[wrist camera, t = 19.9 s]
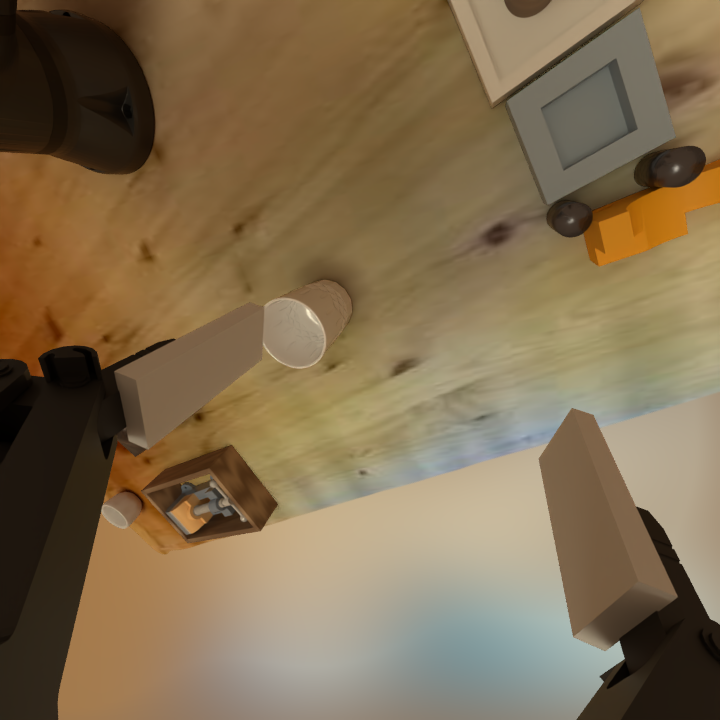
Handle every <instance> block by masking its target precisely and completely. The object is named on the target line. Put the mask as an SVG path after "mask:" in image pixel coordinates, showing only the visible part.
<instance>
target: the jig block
mask: <svg viewBox="0 0 720 720" xmlns="http://www.w3.org/2000/svg"><path fill="white" fill-rule="evenodd" d="M505 107H506V110H507V112H508V115H509V117H510V120H511V122H512V125H513V127H514V130H515V132H516V135H517V137H518V140H519V142H520V145H521V147H522V150H523V152H524V155H525V157H526V160H527V163H528V165H529V168H530V170H531V173H532V175H533V178H534V180H535V183H536V185H537V188H538V190H539V193H540V195H541V198H542V200H543V203H544V204H546V205H549V204H551V203H553V202H554V201H556V200H558V199H560V198H562V197H564V196H566V195H568V194H570V193H571V192H573V191H575V190H577V189H579V188H581V187H583V186H585V185H587V184H588V183H590V182H592V181H594V180H596V179H598V178H600V177H602V176H604V175H605V174H607V173H609V172H611V171H613V170H615V169H617V168H619V167H621V166H622V165H624V164H626V163H628V162H630V161H632V160H634V159H636V158H638V157H639V156H641V155H643V154H645V153H647V152H649V151H651V150H653V149H655V148H656V147H658V146H660V145H662V144H664V143H666V142H668V141H670V140H672V139H673V138H675V137H676V136H675V132H674V129H673V125H672V121H671V118H670V114H669V111H668V107H667V104H666V100H665V96H664V93H663V89H662V86H661V82H660V79H659V75H658V72H657V68H656V64H655V61H654V57H653V54H652V50H651V47H650V43H649V39H648V36H647V32H646V29H645V25H644V22H643V18H642V15H641V11H640V8H638V9H637V10H635V11H634V12H632V13H631V14H630V15H628V16H627V17H625V18H624V19H623V20H621V21H620V22H618V23H617V24H615V25H614V26H613V27H611V28H610V29H608V30H607V31H605V32H604V33H603V34H601V35H600V36H598V37H597V38H596V39H594V40H593V41H591V42H590V43H588V44H587V45H586V46H584V47H583V48H581V49H580V50H578V51H577V52H576V53H574V54H573V55H571V56H570V57H568V58H567V59H566V60H564V61H563V62H561V63H560V64H559V65H557V66H556V67H554V68H553V69H551V70H550V71H549V72H547V73H546V74H544V75H543V76H541V77H540V78H539V79H537V80H536V81H534V82H533V83H532V84H530V85H529V86H527V87H526V88H524V89H523V90H522V91H520V92H519V93H517V94H516V95H514V96H513V97H512V98H510V99H509V100H507V102H506V106H505Z"/></svg>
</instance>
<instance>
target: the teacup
mask: <svg viewBox="0 0 720 720" xmlns="http://www.w3.org/2000/svg"><path fill="white" fill-rule="evenodd" d="M141 509H142V503H141V500H140V499H139V498H138V497H137V496H136V495H135V494H133V493H131V492H122V493H119V494H117V495H115V496H114V497H112V498H111V499H109V500H108V501H107V502H105V503H104V504H103V505H102V510H101V512H102V514H103V515H104V517H105V518H106V519H107V520H108V521H109V522H110V523H111V524H113V525H114V526H116V527H119V528H123V529H124V528H127V527H128V526H130V525H131V524H132V522H133V521H134V520H135V519H136V518H137V517H138V516H139V514H140V512H141Z"/></svg>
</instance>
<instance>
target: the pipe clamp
mask: <svg viewBox="0 0 720 720" xmlns="http://www.w3.org/2000/svg"><path fill="white" fill-rule="evenodd" d="M716 203H720V160H717V161H715V162H712V163H710V164H707V165H705V166H704V169H703V171H702V172H701V174H700V175H699V176H698V177H697V178H696V179H695V180H694V181H692V182H691V183H689V184H687V185H685V186H682V187H677V188H669V187H650V188H647V189H645V190H642V191H640V192H637V193H635V194H632V195H630V196H627V197H625V198H622V199H620V200H617V201H615V202H612V203H610V204H607V205H605V206H602V207H600V208H597V209H595V210H592V213H593V219H592V223H591V225H590V227H589V228H588V229H587V230H586V231H585V232H584V237H585V241H586V245H587V249H588V253H589V257H590V260H591V261H592V262H594V263H595V264H596V265H598V266H602V265H605V264H608V263H611V262H614V261H617V260H620V259H623V258H626V257H629V256H632V255H635V254H638V253H641V252H644V251H647V250H649V249H651V248H653V247H655V246H657V245H659V244H662V243H664V242H666V241H669V240H671V239H674V238H677V237H680V236H683V235H686V234H688V231H687V224H686V217H685V213H686V212H689V211H692V210H695V209H699V208H702V207H705V206H709V205H712V204H716Z"/></svg>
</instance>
